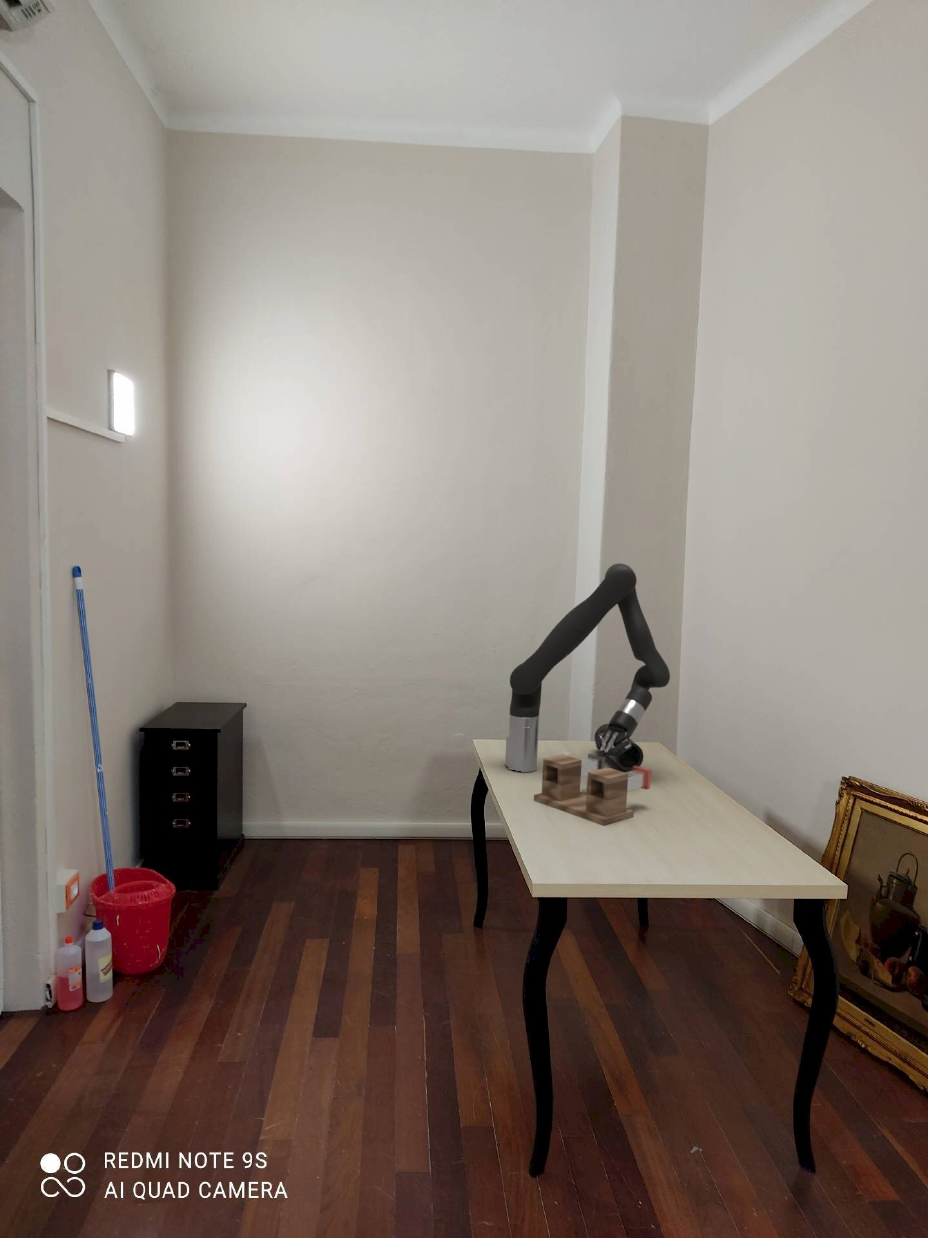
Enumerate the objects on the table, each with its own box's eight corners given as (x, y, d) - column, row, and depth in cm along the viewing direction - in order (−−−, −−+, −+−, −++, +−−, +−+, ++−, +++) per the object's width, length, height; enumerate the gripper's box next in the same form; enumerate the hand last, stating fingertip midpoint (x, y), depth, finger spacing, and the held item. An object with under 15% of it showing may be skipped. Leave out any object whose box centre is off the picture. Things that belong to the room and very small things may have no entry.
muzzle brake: (613, 774, 264) (615, 742, 263) (592, 751, 291) (593, 722, 290) (643, 774, 264) (645, 742, 263) (619, 751, 292) (620, 722, 291)
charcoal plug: (554, 779, 236) (555, 761, 236) (589, 770, 246) (590, 753, 246) (568, 783, 232) (569, 765, 232) (603, 775, 242) (604, 757, 242)
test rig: (533, 800, 234) (535, 758, 233) (562, 792, 242) (564, 752, 241) (604, 825, 216) (606, 780, 215) (633, 816, 224) (636, 773, 222)
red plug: (599, 793, 224) (600, 774, 224) (634, 784, 234) (635, 765, 234) (614, 798, 221) (615, 779, 220) (649, 788, 231) (651, 770, 230)
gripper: (604, 706, 254) (575, 751, 247) (640, 714, 245) (611, 762, 238) (614, 721, 258) (586, 766, 251) (650, 730, 249) (621, 777, 242)
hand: (598, 764), depth 245 cm, fingers closed
